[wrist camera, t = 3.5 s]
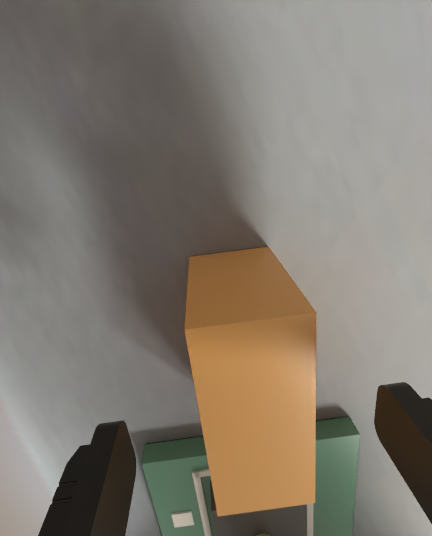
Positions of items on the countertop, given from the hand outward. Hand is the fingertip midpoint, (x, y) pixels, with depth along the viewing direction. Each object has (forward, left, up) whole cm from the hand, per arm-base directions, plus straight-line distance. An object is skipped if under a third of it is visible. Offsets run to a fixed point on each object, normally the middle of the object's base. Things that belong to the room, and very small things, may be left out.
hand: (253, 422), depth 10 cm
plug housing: (0, 0, -6) cm, 6 cm away
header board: (0, +14, -6) cm, 15 cm away
